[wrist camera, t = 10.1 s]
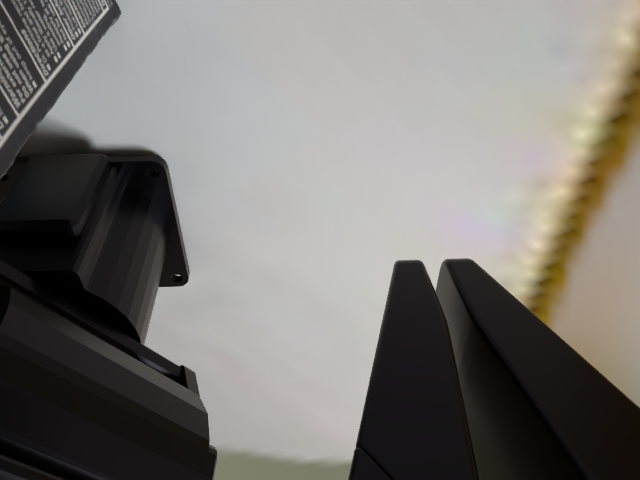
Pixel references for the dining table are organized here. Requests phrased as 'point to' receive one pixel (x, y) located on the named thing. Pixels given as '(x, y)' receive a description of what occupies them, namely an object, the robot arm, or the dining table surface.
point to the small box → (42, 59)
